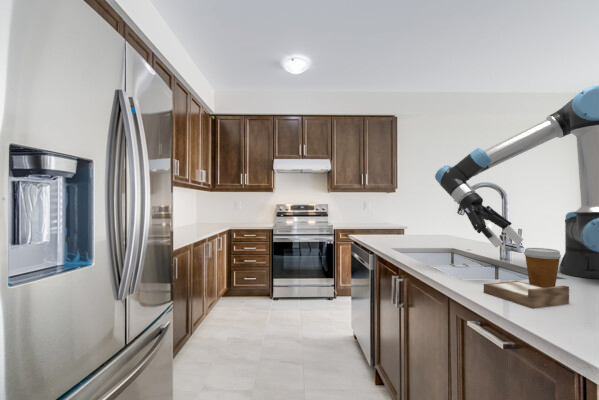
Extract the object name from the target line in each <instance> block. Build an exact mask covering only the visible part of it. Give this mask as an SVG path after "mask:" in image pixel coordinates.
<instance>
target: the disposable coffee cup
mask: <svg viewBox="0 0 599 400" xmlns="http://www.w3.org/2000/svg"><path fill="white" fill-rule="evenodd" d="M523 255H524V256H525V262H526V263H525V264H526V270H527V275H528V284H531V285H535V286H539V287H543V288H546V287H556V284H557V276H558V270H559V266H560V259H561V257H562V254H561V251H560V250H558V249H552V248H546V247H545V248H544V247H526V248H525V249H524V251H523Z"/></svg>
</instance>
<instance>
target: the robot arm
mask: <svg viewBox="0 0 599 400" xmlns="http://www.w3.org/2000/svg"><path fill="white" fill-rule="evenodd" d="M571 134H572V135H574V136H575V137H576V147H577V148H576V149H577V161H578V175H579V191H580V207H579V208H578V209H577V210H576V211H570V212H567V213H566V214H565V218H564V224H565V225H564V227H565V228H564V229H565V230H564V232H565V234H564V236H565V237H564V238H565V239H564V240H565V242H564V244H565V249H564V250H565V252H564V254H563V256H562V259H561V261H560V263H559V265H558V270H559V273H561V274H564V275H567V276H573V277H576V278H577V277H578V278H585V279H598V280H599V85H598V84H597V85H592V86H589V87H587V88H584V89H582V90H581V91H579V92H578V93H576V94H575V95H574V97H573V98H572V99H570V101H568V102H567V103H566V104H565V105H563V106H562V107H561V108H560V109H558V110H556V111H555V112H553V113H551V114H549V115H547V116H546V118H545V120H543V121H541V122H539V123H537V124H535V125H533V126H531V127H528V128H527V129H525V130H523V131H520V132H519V133H517V134H515V135H513V136H511V137H508V138H507V139H505V140H503V141H501V142H498V143H497V144H495V145H493V146H491V147H489V148H487V149H485V150H483V149H482V148H480V147H477V148H475V149H474V150H472V151H470V152H469V154H467V156H465V157H464V158H462V159H461V160H460V161H459V162H457V163H456V164H454V165H453V166H451V165H443V166H442V167H440V168H439V169H438V170H437V171H436V173H435V175H434V179H435V180H436V181H437V183H438V184H439V185H440V187H441V188H442V189H443V190H445V192H447V194H448V195H449V196H450V197H451V198H452V199H453V201H454V202H455V203H456V204H458V205H459V207H460V208H461V210H463V212H464V213H465V215H466V216H467V218H468V220H469V221H470V224H471V226H472V227H473V229H474V231H476V232H477V233H478V234H480V233H482V234H483V235H484V237H486V238H487V240H488V241H489V242H490V243H491V244H492V245H493V246H494V247H495V248H498V247H499V246H500V245H502V244H503V243H504V242H503V240H502V239H501V238H500V237H499V236H498V234H496V233H495V231H493V230H492V229H491V228H490V226H487V223H486V221H490V222H491V223H493V224H494V225H496V226H498V227H499V228H501V229H502V231H503V232H504V233H505V234H506V235H507V236H508V237H509V238H510V239H511V241H512V242H514V244H515V245H519V244H520V243H521V242H523V241H524V238H523V237H522V236H521V235H520V234H519V233H518V232H517V231H516V230H515V229H514V228H513V227H512V224H513V223H512V222H511V221H509V220H508V219H506V218H505V217H504V216H503V215H501V214H500V213H499V212H497V211H496V210H494V209H493V208H492V207H491V206H489V205H487V206H484V205H483V202H484V199H483V197H481V196H480V194H479V193H477V192H476V190H475V189H474V188H473V187H472V185H470V184H468V182H467V181H470V179H472V178H473V177H475V176H477V175H479V174H481V173H483V172H485V171H488V170H489V169H491V168H493V167H495V166H498V165H500V164H501V163H504V162H507V161H509V160H510V159H512V158H516V157H517V156H519V155H521V154H524V153H525V152H527V151H529V150H532V149H535V148H537V147H539V146H540V145H542V144H544V143H547V142H549V141H551V140H554V139H555V138H559V139H561V138H563V137H566V136H569V135H571Z"/></svg>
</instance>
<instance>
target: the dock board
mask: <svg viewBox="0 0 599 400" xmlns="http://www.w3.org/2000/svg"><path fill="white" fill-rule="evenodd" d="M483 293H485V294H488V295H491V296H494V297H497V298H500V299H503V300H506V301H508V302H512V303H515V304H518V305H520V306H525V307H527V308H531V309H538V308H544V307H545V308H546V307H553V306H561V305H569V304H570V286H568V285H558V286H556V285H555V287H546V288H543V287H539V286H535V285H531V284H529V283H527V282H522V281H519V280H512V281H502V282H501V281H500V282H490V283H489V282H488V283H484V284H483Z"/></svg>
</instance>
